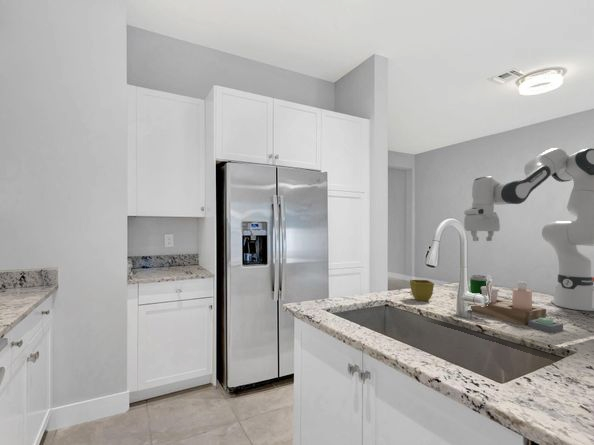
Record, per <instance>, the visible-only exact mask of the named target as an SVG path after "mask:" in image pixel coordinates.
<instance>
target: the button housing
mask: <svg viewBox="0 0 594 445" xmlns="http://www.w3.org/2000/svg"><path fill="white" fill-rule="evenodd" d="M527 326H528V327H529V328H532V329H536V330H539V331H543V332H547V333H556V332H562V331H564V323H559V322H556V321H553V324H552V325H547V324H543V323H539V322H538V319H535V320H530V321H529V324H528V325H527Z"/></svg>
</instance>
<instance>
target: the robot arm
mask: <svg viewBox="0 0 594 445" xmlns="http://www.w3.org/2000/svg"><path fill="white" fill-rule="evenodd" d="M523 169H524V170H523V171H524V174H525V177H523V178H522V179H519V180H514V181H511V182H504V183H501V182H500V181H496V179H494V178H493V176H489V175H486V176H481V177H478V178H477V177H476V178H475V179H474V180H473V183H472V187H471V190H472V191H471V197H472V203H471V207H470V208H467V209H465V210H464V212H463V213H464V215H465V216H464V223H463V224H464V225H463V226H464V230H465V231H466V232H470V234H471V237H472V241H473V242H479V237H478V235H477V234H478V232H487V236H486V237H485V238H486V239H485V240H486V242H492V240H493V236H494V234H495V232H499V231H500V230H501V228H500V226H501V225H500V218H499V216H498V214H497V213H496V211H495V206H496V205H498V206H502V205H520V204H522V203H524V202H526V200H527V199H528V198H529V196H530V195H531V193H532V192H533V191H534V190H535V189H536V188H537V187H539V186H540V185H542V184H543V183H544V182H545V181H547V179H548V178H550V177H552V178H553V179H554V180H555V181H556V182H560V183H564V182H570V181H573V187H572V189H571V192H570V195H569V198H568V202H567V206H566V208H567V211H568V213H569V214H571V215H573V216H575V217H577V218H576V220H557V221H552V222H548V223H546V224H545V225H544V226H543V227H542V230H541V236H542V238H543V240H545V242H547V243H548V244H549V245H550V246H552V248H553V249H554V251H555V253H556V255H557V258H558V274H557V282H558V283H557V284H556V285H555V286H554V289H553V290H554V291H553V299H552V300H551V299H550V303H551V304H553V305H555V306H557V307H561V308H565V309H570V310H576V311H577V310H578V311H589V312H594V277H593V276H592V261H591V259H590V257H588V256H587V255H586V254H584V253H582V252H580V251H579V249H578V246H587V247H594V147H593V148H589V147H588V148H584V149H581V150H579V151H577V152H575V153H572V154H570V155H568V154H567V152H566V150H564V149H562V148H560V147H559V148H558V147H554V148H550V149H548V150H546V151H543V152H541V153H540V154H538V155H536V156H534V157H533V158H531V159H530V160H528V162H527V163H526V164H525V165H524V167H523ZM494 205H495V206H494Z"/></svg>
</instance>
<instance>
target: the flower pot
mask: <svg viewBox="0 0 594 445" xmlns="http://www.w3.org/2000/svg"><path fill="white" fill-rule="evenodd" d="M409 283H410V291H411V295H412V296H413V298H414V299H415V300H417V301H419V302H422V301H424V302H428V301H429V300H431V298H432V295H433V292H434V286H435V283H434V282H432V281H430V280H428V279H409Z"/></svg>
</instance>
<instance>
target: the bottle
mask: <svg viewBox="0 0 594 445" xmlns="http://www.w3.org/2000/svg"><path fill="white" fill-rule="evenodd" d="M527 283H528V282H526V281H517V288H512V289H511V290H512V294H511V295H512V300H511V302H512V308H516V309H521V310H525V311H528V310H532V306H533V290H530V289H527V288H528V284H527Z"/></svg>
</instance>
